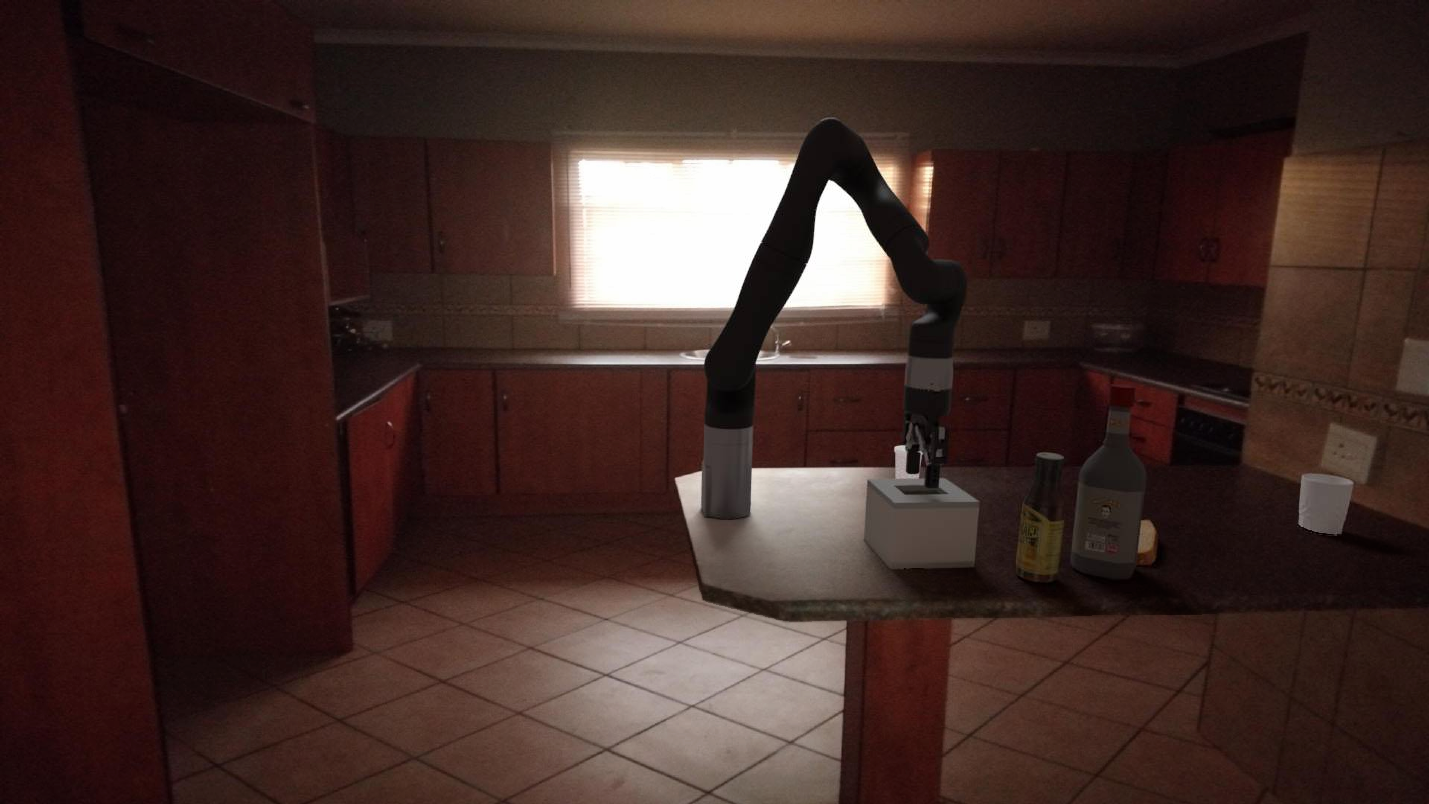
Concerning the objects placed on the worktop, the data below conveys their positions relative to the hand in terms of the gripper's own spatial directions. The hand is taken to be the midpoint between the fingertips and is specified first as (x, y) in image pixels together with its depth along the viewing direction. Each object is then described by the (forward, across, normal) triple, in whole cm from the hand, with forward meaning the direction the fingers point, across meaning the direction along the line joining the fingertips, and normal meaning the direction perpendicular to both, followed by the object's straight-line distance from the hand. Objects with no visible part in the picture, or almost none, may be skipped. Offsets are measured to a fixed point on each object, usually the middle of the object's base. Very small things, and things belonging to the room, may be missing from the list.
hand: (921, 480), depth 138 cm
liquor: (+13, +9, +28) cm, 32 cm away
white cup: (+13, -7, +82) cm, 83 cm away
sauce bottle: (+13, +12, +15) cm, 23 cm away
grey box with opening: (+13, 0, 0) cm, 13 cm away
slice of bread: (+13, -2, +40) cm, 42 cm away
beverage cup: (+13, -38, +12) cm, 42 cm away
